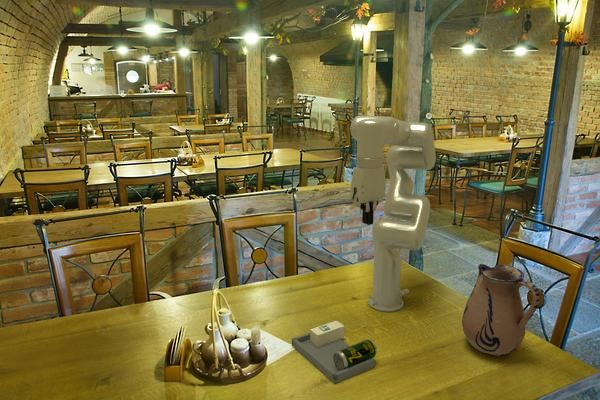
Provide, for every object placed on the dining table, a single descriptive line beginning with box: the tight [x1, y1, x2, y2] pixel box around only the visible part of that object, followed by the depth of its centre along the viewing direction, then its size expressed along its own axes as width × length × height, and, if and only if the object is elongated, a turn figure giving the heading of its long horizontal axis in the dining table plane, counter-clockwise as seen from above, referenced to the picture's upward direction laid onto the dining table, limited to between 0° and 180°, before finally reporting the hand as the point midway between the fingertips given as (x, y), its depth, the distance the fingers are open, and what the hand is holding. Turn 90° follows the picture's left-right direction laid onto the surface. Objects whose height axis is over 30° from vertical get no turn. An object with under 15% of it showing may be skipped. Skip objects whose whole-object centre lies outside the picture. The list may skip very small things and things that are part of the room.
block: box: [309, 320, 345, 347], centre depth 150 cm, size 4×4×10 cm
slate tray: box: [291, 332, 376, 384], centre depth 143 cm, size 14×22×2 cm, turn 32°
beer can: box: [333, 339, 378, 370], centre depth 138 cm, size 5×5×12 cm
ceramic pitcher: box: [461, 263, 541, 357], centre depth 143 cm, size 18×21×25 cm
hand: (367, 223), depth 145 cm, fingers closed
